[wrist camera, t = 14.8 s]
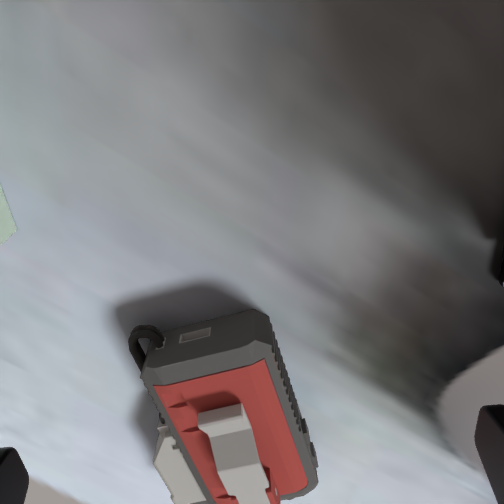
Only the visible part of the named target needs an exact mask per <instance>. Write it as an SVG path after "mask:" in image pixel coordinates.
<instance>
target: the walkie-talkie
mask: <svg viewBox="0 0 504 504" xmlns="http://www.w3.org/2000/svg"><path fill="white" fill-rule="evenodd" d="M139 338H149V339H150V340H151V343H150V345H149V347H148V350H147V354H146V355H145V353H144V351H143V350H142V348H141V346H140V344H139V342H138V339H139ZM128 343H129V350H130V352H131V354H132V356H133V358H134V360H135V362H136V364H137V365H138V367H139V369H140V371H141V376H140V378H141V379H143V381H144V386H145V387H147V389H148V390H149V391H148V393H149V395H151V396H152V398H153V400H152V401H153V402H154V403H156V405H157V410H159V411H160V413H159V422H158V427H157V429H158V430H159V432H160V434H159V437H158V440H157V446H156V451H155V456H154V461H153V464H154V466H155V468H156V469H157V471H158V473H159V474H160V476H161V478H162V480H163V481H164V483H165V485H166V486H167V488H168V490H169V491H170V493H171V499H172V501H173V503H174V504H280V501H281V500H285V499H287V500H291V499H293V498H295V497H300V496H304V495H306V494H307V493H309V492H310V491H312V490H313V489H314V488H315V487H316V486H317V484H318V477H317V471H316V468H317V467H318V462H317V456H316V452H315V448H314V445H313V443H312V442H310V437H309V431H308V427H307V424H306V421H305V418H303V419H302V416H301V413H300V410H299V407H298V404H297V400H296V399H295V394H294V392H293V389H292V385H291V384H290V379H289V378H288V373H287V371H286V368H285V364H284V363H283V357H282V356H281V354H280V348H278V342H277V340H275V333H274V332H273V329H272V324H270V319H269V316H267V315H265V314H263V313H261V312H258V311H256V310H254V309H252V310H248V311H244V312H240V313H236V314H232V315H228V316H224V317H220V318H216V319H212V320H208V321H204V322H200V323H196V324H192V325H188V326H184V327H180V328H176V329H172V330H168V331H164V332H160V331H159V330H158V329H157V328H156V327H154V326H151V325H139V326H137V327H135V328H134V329H133V330H132V332H131V335H130V337H129V341H128Z"/></svg>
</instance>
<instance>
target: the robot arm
mask: <svg viewBox="0 0 504 504" xmlns="http://www.w3.org/2000/svg"><path fill="white" fill-rule="evenodd" d="M502 258H503V262H502V267H501V272H500V277H499V283H500V284H501V286H502V287H503V288H504V247H503V252H502ZM474 437H475V445H476V448H477V451H478V453H479V456H480V459H481V461H482V464H483V466H484V469H485V471H486V474H487V477H488V479H489V482H490V484H491V487H492V490H493V492H494V495H495V497H496V500H497V502H498V504H504V405H501V404H499V405H487V406H483V407H482V408H481V409H480V411H479V415H478V421H477V425H476V430H475V436H474ZM28 485H29V476H28V472H27V470H26V468H25V466H24V464H23V462H22V460H21V458H20V456H19V454H18V452H17V450H16V449H14V448H13V447H4V448H0V504H24V501H25V497H26V493H27V489H28Z"/></svg>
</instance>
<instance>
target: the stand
mask: <svg viewBox="0 0 504 504" xmlns="http://www.w3.org/2000/svg"><path fill="white" fill-rule="evenodd" d="M16 230H17V228H16V226H15V223H14V220H13V218H12V215H11V212H10V210H9V207H8V204H7V202H6V199H5V196H4V194H3V191H2V188H1V185H0V245H1V244H3V243H4V242H5V241H6V240H7V239H8V238H9V237H10V236H11V235H12V234H13V233H14V232H15V231H16Z"/></svg>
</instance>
